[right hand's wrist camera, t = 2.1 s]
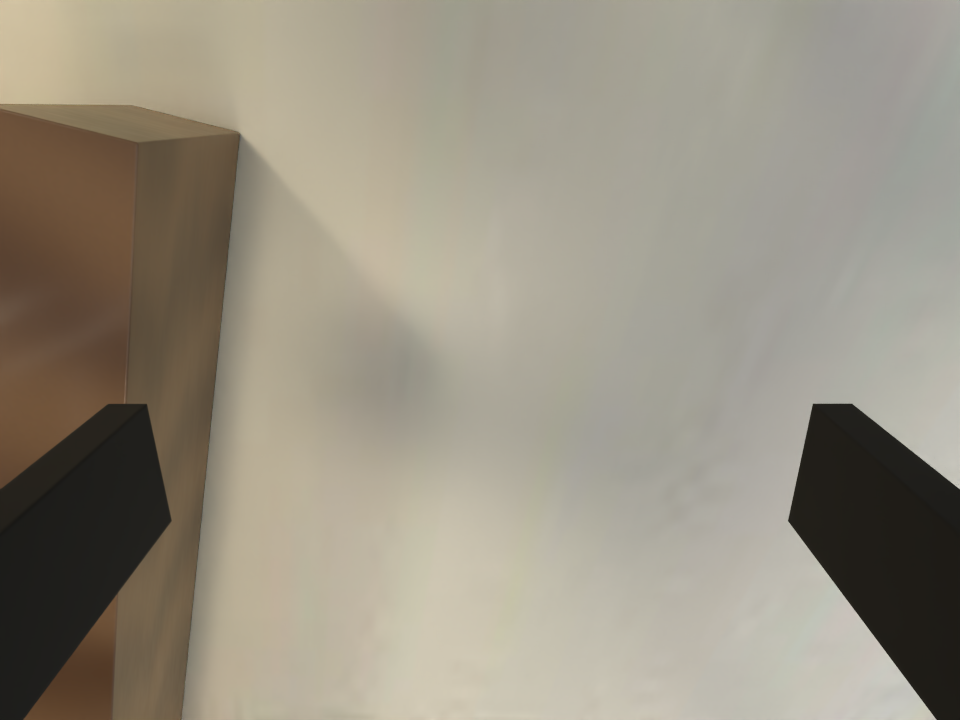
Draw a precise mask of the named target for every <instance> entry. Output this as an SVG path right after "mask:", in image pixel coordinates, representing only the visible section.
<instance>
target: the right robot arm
mask: <svg viewBox="0 0 960 720" xmlns="http://www.w3.org/2000/svg"><path fill="white" fill-rule="evenodd" d="M171 521H172V519H171V515H170V510H169V505H168V501H167V496H166V491H165V486H164V482H163V477H162V472H161V468H160V463H159V458H158V453H157V449H156V444H155V439H154V435H153V430H152V425H151V420H150V416H149V411H148V406H147V404H107V405H106V406H105V407H103V408H102V409H101V410H100V411H98V412H97V413H96V414H95V415H93V416H92V417H91V418H90V419H88V420H87V421H86V422H85V423H83V424H82V425H81V426H80V427H78V428H77V429H76V430H75V431H73V432H72V433H71V434H69V435H68V436H67V437H66V438H64V439H63V440H62V441H61V442H59V443H58V444H57V445H56V446H54V447H53V448H52V449H51V450H49V451H48V452H47V453H46V454H44V455H43V456H42V457H40V458H39V459H38V460H37V461H35V462H34V463H33V464H32V465H30V466H29V467H28V468H27V469H25V470H24V471H23V472H22V473H20V474H19V475H18V476H17V477H15V478H14V479H13V480H12V481H10V482H9V483H8V484H6V485H5V486H4V487H3V488H1V489H0V720H23V719H24V718H25V717H26V715H27V714H28V713H29V711H30V710H31V709H32V707H33V706H34V705H35V703H36V702H37V701H38V699H39V698H40V697H41V695H42V694H43V693H44V691H45V690H46V689H47V687H48V686H49V685H50V683H51V682H52V681H53V679H54V678H55V677H56V675H57V674H58V673H59V671H60V670H61V669H62V667H63V666H64V665H65V663H66V662H67V661H68V659H69V658H70V657H71V655H72V654H73V653H74V651H75V650H76V649H77V647H78V646H79V645H80V643H81V642H82V641H83V639H84V638H85V637H86V635H87V634H88V632H89V631H90V630H91V628H92V627H93V626H94V624H95V623H96V622H97V620H98V619H99V618H100V616H101V615H102V614H103V612H104V611H105V610H106V608H107V607H108V606H109V604H110V603H111V602H112V600H113V599H114V598H115V596H116V595H117V594H118V592H119V591H120V590H121V588H122V587H123V586H124V584H125V583H126V582H127V580H128V579H129V578H130V576H131V575H132V574H133V572H134V571H135V570H136V568H137V567H138V566H139V564H140V563H141V562H142V560H143V559H144V558H145V556H146V555H147V554H148V552H149V551H150V550H151V548H152V547H153V545H154V544H155V543H156V541H157V540H158V539H159V537H160V536H161V535H162V533H163V532H164V531H165V529H166V528H167V527H168V525H169V524H170V523H171ZM788 521H789V523H790V524H791V525H792V527H793V528H794V529H795V531H796V532H797V533H798V535H799V536H800V537H801V539H802V540H803V541H804V543H805V544H806V546H807V547H808V548H809V550H810V551H811V552H812V554H813V555H814V556H815V558H816V559H817V560H818V562H819V563H820V564H821V566H822V567H823V568H824V570H825V571H826V572H827V574H828V575H829V576H830V578H831V579H832V580H833V582H834V583H835V584H836V586H837V587H838V588H839V590H840V591H841V592H842V594H843V595H844V596H845V598H846V599H847V600H848V602H849V603H850V604H851V606H852V607H853V608H854V610H855V611H856V612H857V614H858V615H859V616H860V618H861V619H862V620H863V622H864V623H865V624H866V626H867V627H868V628H869V630H870V631H871V632H872V634H873V635H874V637H875V638H876V639H877V641H878V642H879V643H880V645H881V646H882V647H883V649H884V650H885V651H886V653H887V654H888V655H889V657H890V658H891V659H892V661H893V662H894V663H895V665H896V666H897V667H898V669H899V670H900V671H901V673H902V674H903V675H904V677H905V678H906V679H907V681H908V682H909V683H910V685H911V686H912V687H913V689H914V690H915V691H916V693H917V694H918V695H919V697H920V698H921V699H922V701H923V702H924V703H925V705H926V706H927V707H928V709H929V710H930V711H931V713H932V714H933V715H934V717H935V718H936V719H937V720H960V489H959V488H957V487H956V486H955V485H954V484H952V483H951V482H950V481H948V480H947V479H946V478H945V477H943V476H942V475H941V474H940V473H938V472H937V471H936V470H935V469H933V468H932V467H931V466H930V465H928V464H927V463H926V462H925V461H923V460H922V459H921V458H920V457H918V456H917V455H916V454H914V453H913V452H912V451H911V450H909V449H908V448H907V447H906V446H904V445H903V444H902V443H901V442H899V441H898V440H897V439H896V438H894V437H893V436H892V435H891V434H889V433H888V432H887V431H885V430H884V429H883V428H882V427H880V426H879V425H878V424H877V423H875V422H874V421H873V420H872V419H870V418H869V417H868V416H867V415H865V414H864V413H863V412H862V411H860V410H859V409H858V408H857V407H855V406H854V405H853V404H813V406H812V411H811V416H810V420H809V425H808V430H807V435H806V439H805V444H804V449H803V453H802V458H801V463H800V468H799V472H798V477H797V482H796V486H795V491H794V496H793V501H792V505H791V510H790V515H789V519H788Z"/></svg>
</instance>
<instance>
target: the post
mask: <svg viewBox="0 0 960 720" xmlns="http://www.w3.org/2000/svg"><path fill="white" fill-rule="evenodd" d="M239 137H240V133H239V132H236V131H232V130H228V129H224V128H220V127H216V126H212V125H208V124H204V123H200V122H196V121H192V120H188V119H184V118H180V117H176V116H172V115H168V114H164V113H160V112H156V111H152V110H148V109H144V108H140V107H136V106H132V105H44V104H0V489H1V488H3V487H4V486H5V485H6V484H8V483H9V482H10V481H12V480H13V479H14V478H15V477H17V476H18V475H19V474H20V473H22V472H23V471H24V470H25V469H27V468H28V467H29V466H30V465H32V464H33V463H34V462H35V461H37V460H38V459H39V458H40V457H42V456H43V455H44V454H46V453H47V452H48V451H49V450H51V449H52V448H53V447H54V446H56V445H57V444H58V443H59V442H61V441H62V440H63V439H64V438H66V437H67V436H68V435H69V434H71V433H72V432H73V431H75V430H76V429H77V428H78V427H80V426H81V425H82V424H83V423H85V422H86V421H87V420H88V419H90V418H91V417H92V416H93V415H95V414H96V413H97V412H98V411H100V410H101V409H102V408H103V407H105V406H106V405H107V404H147V406H148V411H149V416H150V420H151V425H152V430H153V435H154V439H155V444H156V449H157V453H158V458H159V463H160V468H161V472H162V477H163V482H164V486H165V491H166V496H167V501H168V505H169V510H170V515H171V519H172V521H171V523H170V524H169V525H168V527H167V528H166V529H165V531H164V532H163V533H162V535H161V536H160V537H159V539H158V540H157V541H156V543H155V544H154V545H153V547H152V548H151V550H150V551H149V552H148V554H147V555H146V556H145V558H144V559H143V560H142V562H141V563H140V564H139V566H138V567H137V568H136V570H135V571H134V572H133V574H132V575H131V576H130V578H129V579H128V580H127V582H126V583H125V584H124V586H123V587H122V588H121V590H120V591H119V592H118V594H117V595H116V596H115V598H114V599H113V600H112V602H111V603H110V604H109V606H108V607H107V608H106V610H105V611H104V612H103V614H102V615H101V616H100V618H99V619H98V620H97V622H96V623H95V624H94V626H93V627H92V628H91V630H90V631H89V632H88V634H87V635H86V637H85V638H84V639H83V641H82V642H81V643H80V645H79V646H78V647H77V649H76V650H75V651H74V653H73V654H72V655H71V657H70V658H69V659H68V661H67V662H66V663H65V665H64V666H63V667H62V669H61V670H60V671H59V673H58V674H57V675H56V677H55V678H54V679H53V681H52V682H51V683H50V685H49V686H48V687H47V689H46V690H45V691H44V693H43V694H42V695H41V697H40V698H39V699H38V701H37V702H36V703H35V705H34V706H33V707H32V709H31V710H30V711H29V713H28V714H27V715H26V717H25V718H24V719H23V720H181V716H182V706H183V696H184V686H185V676H186V666H187V656H188V646H189V636H190V626H191V616H192V606H193V596H194V586H195V576H196V566H197V556H198V546H199V536H200V526H201V516H202V506H203V496H204V486H205V476H206V466H207V456H208V446H209V436H210V426H211V417H212V407H213V397H214V387H215V377H216V367H217V357H218V347H219V337H220V327H221V317H222V307H223V297H224V287H225V277H226V267H227V257H228V247H229V237H230V227H231V217H232V207H233V197H234V187H235V177H236V167H237V157H238V147H239Z"/></svg>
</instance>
